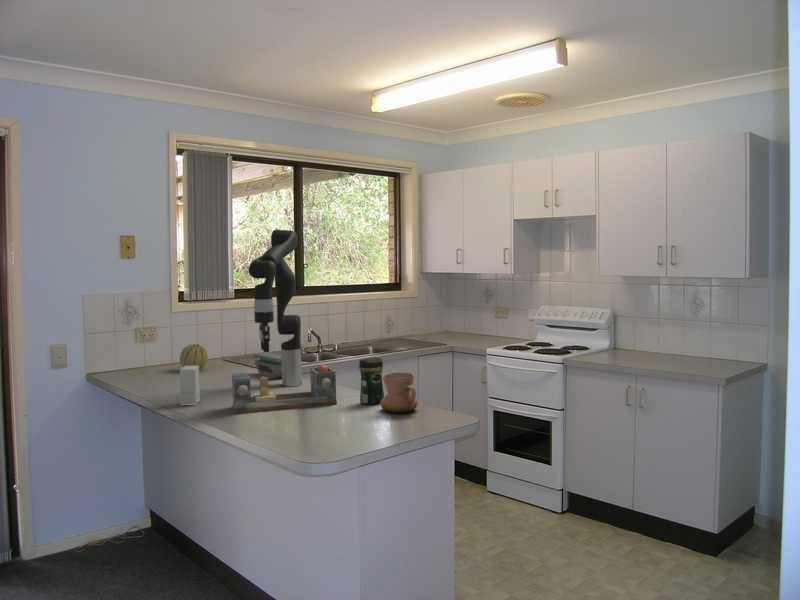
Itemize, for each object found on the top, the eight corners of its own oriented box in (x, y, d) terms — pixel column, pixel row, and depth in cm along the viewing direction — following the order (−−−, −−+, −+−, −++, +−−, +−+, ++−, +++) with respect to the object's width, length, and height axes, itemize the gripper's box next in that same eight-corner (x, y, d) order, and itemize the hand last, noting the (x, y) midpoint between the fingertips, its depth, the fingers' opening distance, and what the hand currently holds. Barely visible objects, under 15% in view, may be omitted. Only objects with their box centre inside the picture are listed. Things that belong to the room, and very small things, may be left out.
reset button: (317, 375, 265) (316, 365, 265) (326, 374, 266) (326, 364, 266) (319, 376, 261) (318, 367, 261) (328, 376, 263) (328, 366, 262)
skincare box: (185, 402, 269) (183, 365, 268) (201, 401, 270) (199, 365, 269) (180, 406, 261) (178, 369, 260) (196, 406, 262) (195, 368, 261)
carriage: (253, 401, 259) (252, 376, 258) (273, 399, 262) (272, 375, 261) (255, 405, 251) (254, 380, 251) (276, 403, 254) (275, 378, 253)
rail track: (232, 406, 259) (231, 373, 259) (329, 397, 272) (328, 366, 272) (235, 414, 246) (234, 379, 245) (336, 404, 259) (336, 371, 258)
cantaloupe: (183, 369, 353) (182, 342, 352) (210, 368, 355) (209, 341, 354) (177, 374, 339) (175, 346, 338) (205, 373, 340) (204, 345, 339)
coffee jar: (375, 399, 267) (374, 355, 266) (387, 402, 261) (386, 357, 260) (356, 403, 261) (355, 358, 260) (367, 406, 255) (366, 360, 254)
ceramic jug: (371, 409, 249) (370, 373, 248) (401, 403, 258) (400, 368, 256) (398, 419, 235) (397, 381, 233) (429, 412, 243) (428, 375, 242)
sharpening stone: (254, 374, 332) (253, 354, 331) (267, 372, 337) (267, 352, 337) (278, 381, 313) (278, 359, 313) (292, 378, 318) (292, 357, 318)
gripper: (252, 310, 261) (254, 349, 262) (256, 311, 247) (257, 353, 248) (271, 309, 263) (272, 348, 264) (275, 311, 250) (276, 352, 250)
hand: (265, 350), depth 256 cm, fingers open, 8 cm apart
